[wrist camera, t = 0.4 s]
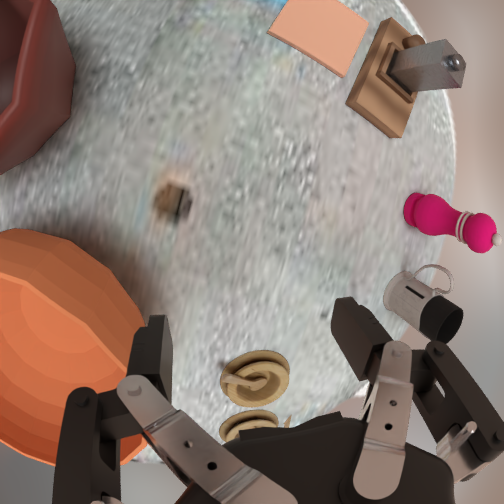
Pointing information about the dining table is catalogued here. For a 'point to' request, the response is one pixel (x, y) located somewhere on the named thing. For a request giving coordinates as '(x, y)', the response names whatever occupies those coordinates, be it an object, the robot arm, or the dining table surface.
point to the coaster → (321, 31)
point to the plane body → (384, 82)
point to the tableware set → (253, 390)
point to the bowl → (57, 338)
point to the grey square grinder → (427, 67)
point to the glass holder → (424, 305)
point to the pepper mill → (451, 222)
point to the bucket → (32, 78)
